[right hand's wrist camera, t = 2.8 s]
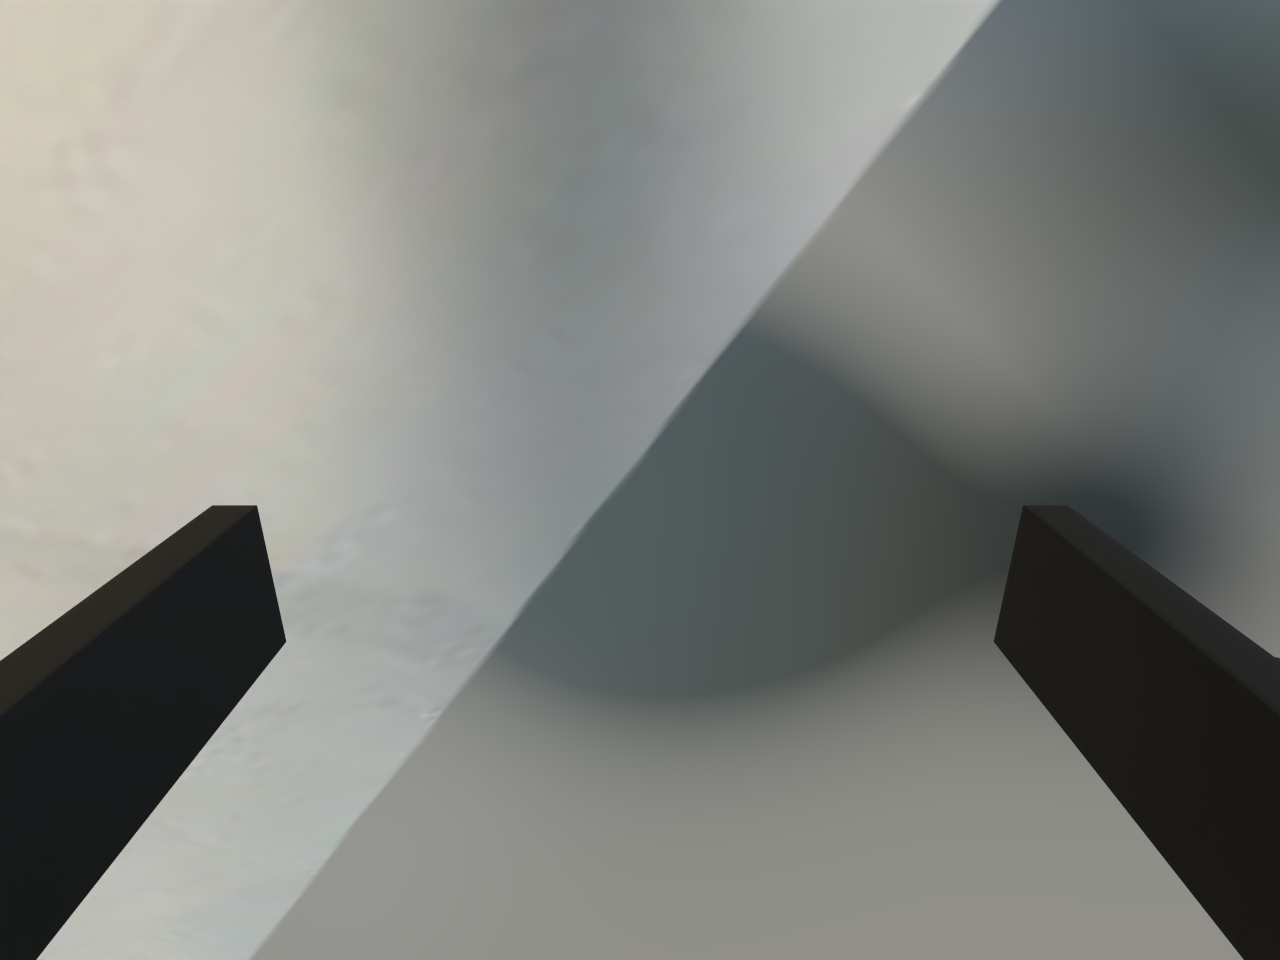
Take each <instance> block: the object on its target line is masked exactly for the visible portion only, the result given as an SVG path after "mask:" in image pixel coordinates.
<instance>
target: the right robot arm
mask: <svg viewBox="0 0 1280 960" xmlns="http://www.w3.org/2000/svg"><path fill="white" fill-rule="evenodd" d="M994 642H995V644H996V645H997V646H998V648H999V649H1000V650H1001V651H1002V653H1003V654H1004V655H1005V657H1006V658H1007V659H1008V660H1009V662H1010V663H1011V664H1012V665H1013V667H1014V668H1015V669H1016V670H1017V672H1018V673H1019V674H1020V676H1021V677H1022V678H1023V679H1024V681H1025V682H1026V683H1027V684H1028V686H1029V687H1030V688H1031V690H1032V691H1033V692H1034V693H1035V695H1036V696H1037V697H1038V698H1039V700H1040V701H1041V702H1042V704H1043V705H1044V706H1045V707H1046V709H1047V710H1048V711H1049V712H1050V714H1051V715H1052V716H1053V718H1054V719H1055V720H1056V721H1057V723H1058V724H1059V725H1060V726H1061V728H1062V729H1063V730H1064V732H1065V733H1066V734H1067V735H1068V737H1069V738H1070V739H1071V740H1072V742H1073V743H1074V744H1075V745H1076V747H1077V748H1078V749H1079V751H1080V752H1081V753H1082V754H1083V756H1084V757H1085V758H1086V760H1087V761H1088V762H1089V763H1090V765H1091V766H1092V767H1093V768H1094V770H1095V771H1096V772H1097V773H1098V775H1099V776H1100V777H1101V779H1102V780H1103V781H1104V782H1105V784H1106V785H1107V786H1108V787H1109V789H1110V790H1111V791H1112V793H1113V794H1114V795H1115V796H1116V798H1117V799H1118V800H1119V801H1120V803H1121V804H1122V805H1123V807H1124V808H1125V809H1126V810H1127V812H1128V813H1129V814H1130V815H1131V817H1132V818H1133V819H1134V821H1135V822H1136V823H1137V824H1138V826H1139V827H1140V828H1141V829H1142V831H1143V832H1144V833H1145V835H1146V836H1147V837H1148V838H1149V840H1150V841H1151V842H1152V843H1153V845H1154V846H1155V847H1156V849H1157V850H1158V851H1159V852H1160V854H1161V855H1162V856H1163V857H1164V859H1165V860H1166V861H1167V863H1168V864H1169V865H1170V866H1171V868H1172V869H1173V870H1174V871H1175V873H1176V874H1177V875H1178V876H1179V878H1180V879H1181V880H1182V882H1183V883H1184V884H1185V885H1186V887H1187V888H1188V889H1189V891H1190V892H1191V893H1192V894H1193V896H1194V897H1195V898H1196V899H1197V901H1198V902H1199V903H1200V904H1201V906H1202V907H1203V908H1204V910H1205V911H1206V912H1207V913H1208V915H1209V916H1210V917H1211V918H1212V920H1213V921H1214V922H1215V924H1216V925H1217V926H1218V927H1219V929H1220V930H1221V931H1222V932H1223V934H1224V935H1225V936H1226V938H1227V939H1228V940H1229V941H1230V943H1231V944H1232V945H1233V946H1234V948H1235V949H1236V950H1237V952H1238V953H1239V954H1240V955H1241V957H1242V958H1243V959H1244V960H1280V659H1279V658H1276V657H1273V656H1272V655H1271V654H1269V653H1268V652H1267V651H1265V650H1264V649H1263V648H1261V647H1260V646H1258V645H1257V644H1256V643H1254V642H1253V641H1252V640H1250V639H1249V638H1248V637H1246V636H1245V635H1244V634H1242V633H1241V632H1239V631H1238V630H1237V629H1235V628H1234V627H1233V626H1231V625H1230V624H1229V623H1227V622H1226V621H1224V620H1223V619H1222V618H1220V617H1219V616H1218V615H1216V614H1215V613H1214V612H1212V611H1211V610H1209V609H1208V608H1207V607H1205V606H1204V605H1203V604H1201V603H1200V602H1199V601H1197V600H1196V599H1194V598H1193V597H1192V596H1190V595H1189V594H1188V593H1186V592H1185V591H1184V590H1182V589H1181V588H1179V587H1178V586H1177V585H1175V584H1174V583H1173V582H1171V581H1170V580H1169V579H1167V578H1166V577H1164V576H1163V575H1162V574H1160V573H1159V572H1158V571H1156V570H1155V569H1153V568H1152V567H1151V566H1149V565H1148V564H1147V563H1145V562H1144V561H1143V560H1141V559H1140V558H1139V557H1137V556H1136V555H1134V554H1133V553H1132V552H1130V551H1129V550H1128V549H1126V548H1125V547H1124V546H1122V545H1121V544H1119V543H1118V542H1117V541H1115V540H1114V539H1113V538H1111V537H1110V536H1109V535H1107V534H1106V533H1104V532H1103V531H1102V530H1100V529H1099V528H1098V527H1096V526H1095V525H1094V524H1092V523H1091V522H1090V521H1088V520H1087V519H1085V518H1084V517H1083V516H1081V515H1080V514H1079V513H1077V512H1076V511H1074V510H1073V509H1072V508H1070V507H1069V506H1023V508H1022V513H1021V517H1020V522H1019V527H1018V531H1017V536H1016V541H1015V545H1014V550H1013V555H1012V559H1011V564H1010V569H1009V573H1008V578H1007V582H1006V587H1005V592H1004V596H1003V601H1002V606H1001V610H1000V615H999V620H998V624H997V629H996V634H995V639H994ZM285 643H286V638H285V634H284V629H283V624H282V620H281V615H280V610H279V606H278V601H277V596H276V592H275V587H274V582H273V578H272V573H271V569H270V564H269V559H268V555H267V550H266V545H265V541H264V536H263V531H262V527H261V522H260V517H259V513H258V508H257V506H211V507H210V508H208V509H207V510H205V511H204V512H203V513H201V514H200V515H199V516H197V517H196V518H195V519H193V520H192V521H190V522H189V523H188V524H186V525H185V526H184V527H182V528H181V529H180V530H178V531H177V532H175V533H174V534H173V535H171V536H170V537H169V538H167V539H166V540H165V541H163V542H162V543H160V544H159V545H158V546H156V547H155V548H154V549H152V550H151V551H150V552H148V553H147V554H146V555H144V556H143V557H141V558H140V559H139V560H137V561H136V562H135V563H133V564H132V565H131V566H129V567H128V568H126V569H125V570H124V571H122V572H121V573H120V574H118V575H117V576H116V577H114V578H113V579H111V580H110V581H109V582H107V583H106V584H105V585H103V586H102V587H101V588H99V589H98V590H96V591H95V592H94V593H92V594H91V595H90V596H88V597H87V598H86V599H84V600H83V601H81V602H80V603H79V604H77V605H76V606H75V607H73V608H72V609H71V610H69V611H68V612H66V613H65V614H64V615H62V616H61V617H60V618H58V619H57V620H56V621H54V622H53V623H51V624H50V625H49V626H47V627H46V628H45V629H43V630H42V631H41V632H39V633H38V634H36V635H35V636H34V637H32V638H31V639H30V640H28V641H27V642H26V643H24V644H23V645H21V646H20V647H19V648H17V649H16V650H15V651H13V652H12V653H11V654H9V655H8V656H6V657H5V658H4V659H2V660H1V661H0V960H36V959H37V958H38V957H39V955H40V954H41V953H42V952H43V950H44V949H45V948H46V946H47V945H48V944H49V943H50V941H51V940H52V939H53V938H54V936H55V935H56V934H57V932H58V931H59V930H60V929H61V927H62V926H63V925H64V924H65V922H66V921H67V920H68V918H69V917H70V916H71V915H72V913H73V912H74V911H75V910H76V908H77V907H78V906H79V904H80V903H81V902H82V901H83V899H84V898H85V897H86V896H87V894H88V893H89V892H90V891H91V889H92V888H93V887H94V885H95V884H96V883H97V882H98V880H99V879H100V878H101V877H102V875H103V874H104V873H105V871H106V870H107V869H108V868H109V866H110V865H111V864H112V863H113V861H114V860H115V859H116V857H117V856H118V855H119V854H120V852H121V851H122V850H123V849H124V847H125V846H126V845H127V843H128V842H129V841H130V840H131V838H132V837H133V836H134V835H135V833H136V832H137V831H138V829H139V828H140V827H141V826H142V824H143V823H144V822H145V821H146V819H147V818H148V817H149V815H150V814H151V813H152V812H153V810H154V809H155V808H156V807H157V805H158V804H159V803H160V801H161V800H162V799H163V798H164V796H165V795H166V794H167V793H168V791H169V790H170V789H171V787H172V786H173V785H174V784H175V782H176V781H177V780H178V779H179V777H180V776H181V775H182V774H183V772H184V771H185V770H186V768H187V767H188V766H189V765H190V763H191V762H192V761H193V760H194V758H195V757H196V756H197V754H198V753H199V752H200V751H201V749H202V748H203V747H204V746H205V744H206V743H207V742H208V740H209V739H210V738H211V737H212V735H213V734H214V733H215V732H216V730H217V729H218V728H219V726H220V725H221V724H222V723H223V721H224V720H225V719H226V718H227V716H228V715H229V714H230V712H231V711H232V710H233V709H234V707H235V706H236V705H237V704H238V702H239V701H240V700H241V698H242V697H243V696H244V695H245V693H246V692H247V691H248V690H249V688H250V687H251V686H252V684H253V683H254V682H255V681H256V679H257V678H258V677H259V676H260V674H261V673H262V672H263V670H264V669H265V668H266V667H267V665H268V664H269V663H270V662H271V660H272V659H273V658H274V657H275V655H276V654H277V653H278V651H279V650H280V649H281V648H282V646H283V645H284V644H285Z"/></svg>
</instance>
